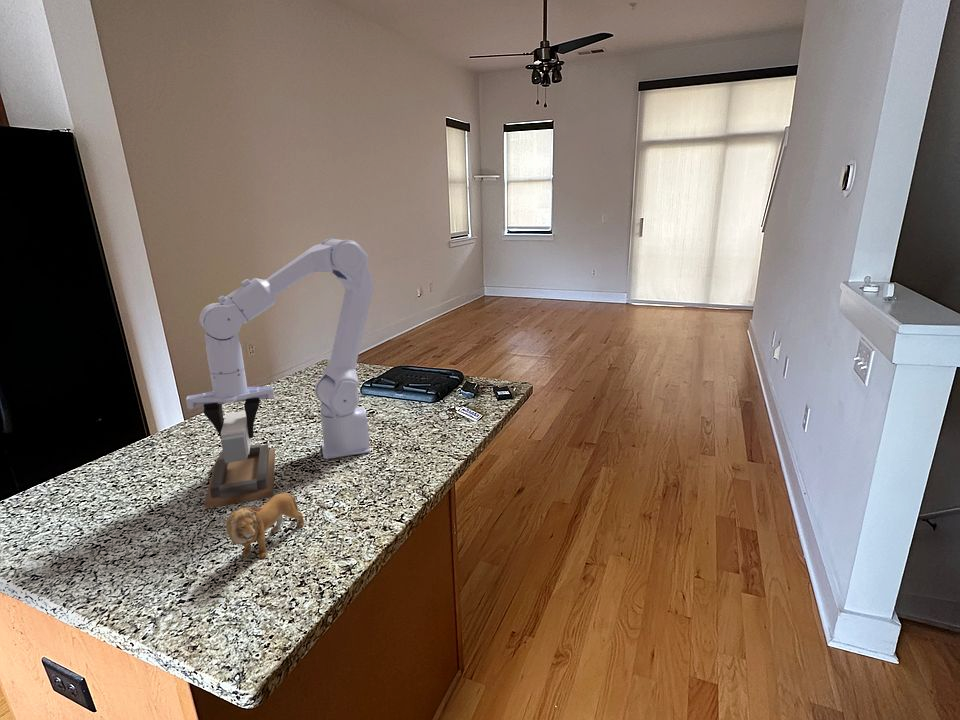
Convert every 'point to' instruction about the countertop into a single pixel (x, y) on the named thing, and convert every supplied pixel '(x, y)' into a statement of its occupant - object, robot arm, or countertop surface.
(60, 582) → the countertop surface
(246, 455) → the white pillar grey cap
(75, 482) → the countertop surface
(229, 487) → the cradle jig
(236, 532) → the lion figurine
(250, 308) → the robot arm
